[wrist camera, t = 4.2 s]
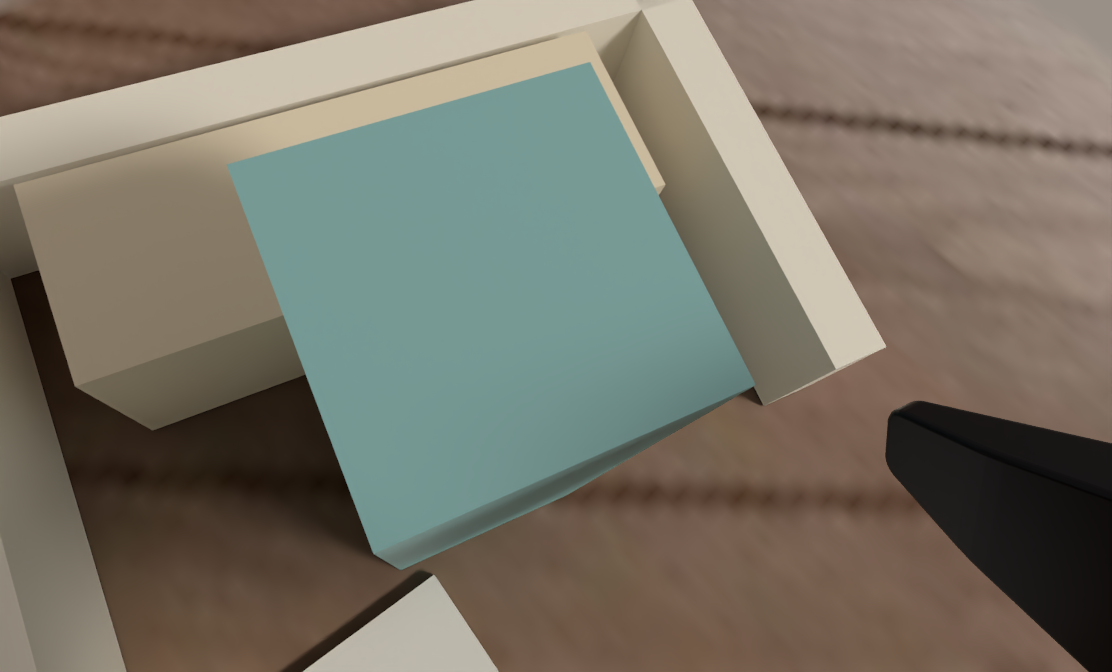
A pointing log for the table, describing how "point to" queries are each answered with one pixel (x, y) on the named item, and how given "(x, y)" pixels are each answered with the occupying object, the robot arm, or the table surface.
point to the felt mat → (411, 639)
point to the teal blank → (485, 305)
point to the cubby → (241, 277)
